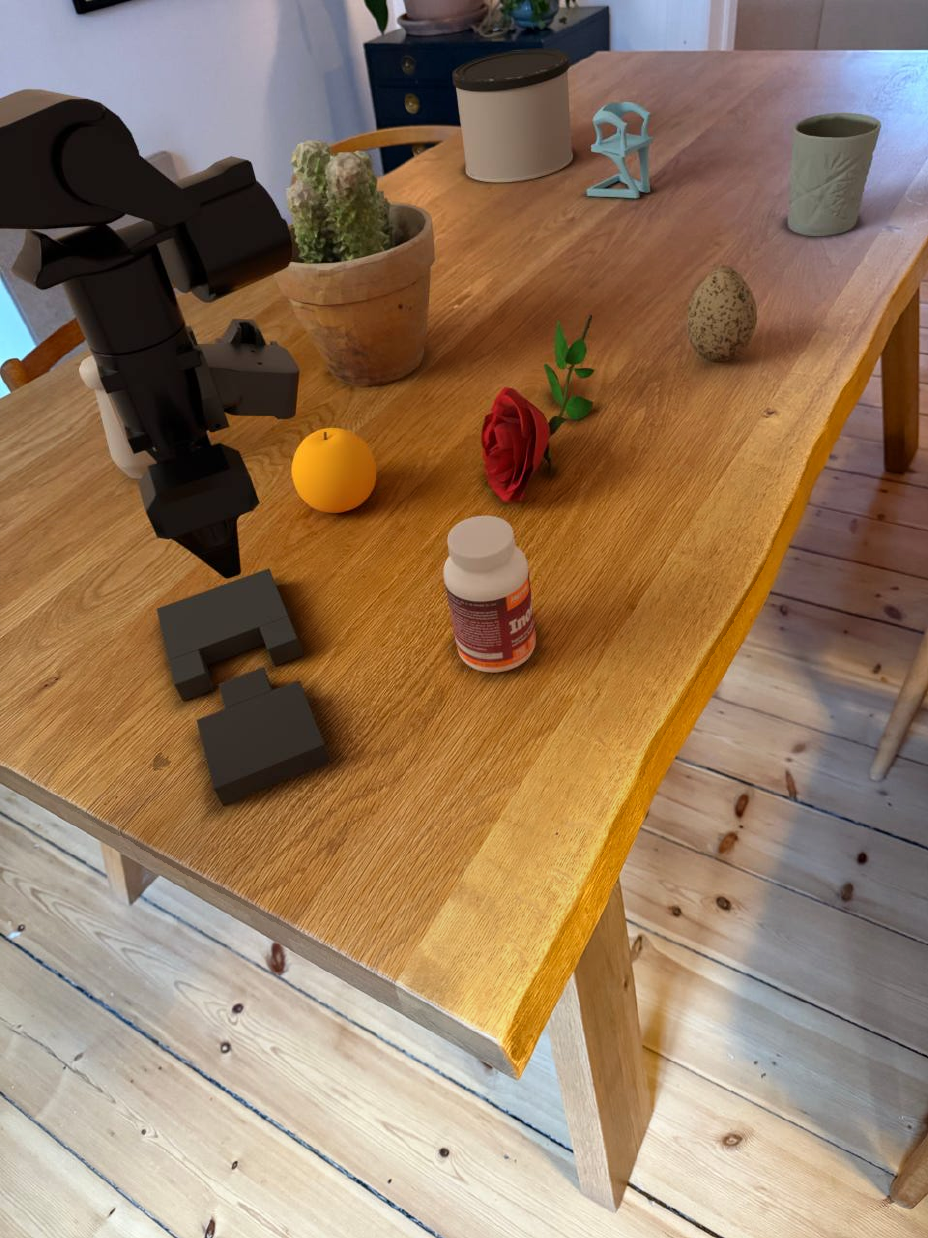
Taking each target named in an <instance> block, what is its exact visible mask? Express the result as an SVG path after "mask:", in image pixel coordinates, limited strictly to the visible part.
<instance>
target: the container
mask: <svg viewBox="0 0 928 1238" xmlns="http://www.w3.org/2000/svg"><path fill="white" fill-rule="evenodd" d="M569 69H570V56H569V54H568V53H567V52H565V51H562V50H558V49H550V48H529V49H528V48H525V49H524V48H523V49H517V50H509V51H503V52H498V53H493V54H489V55H486V56H482V57H479V58H476V59H473V60H470V61H467V62H466V63H463V64H462V65H460V66H458V67H456V68H455V69H454V70H453V71H452V74H451V75H452V84H453V86H454V87H455V90H456V98H457V105H458V113H459V114H458V115H459V122H460V128H461V129H460V131H461V138H462V144H463V145H462V146H463V153H464V160H465V173H466V175H467V176H468V177H469V178H471V179H473V180H476V181H480V182H486V183H515V182H523V181H528V180H529V181H530V180H534V179H537V178H542V177H545V176H547V175H550V174H553V173H556V172H558V171H560V170H562V169H564V168H565V167H566V166H569V164H570V163H571V162H572V160H573V158H574V153H573V150H572V135H571V134H572V132H571V131H572V130H571V112H570V95H569V94H570V93H569V92H570V91H569V74H568V73H569V72H568V70H569Z"/></svg>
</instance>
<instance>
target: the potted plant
mask: <svg viewBox="0 0 928 1238" xmlns="http://www.w3.org/2000/svg"><path fill="white" fill-rule="evenodd" d="M290 157H291V160H290V165H291V166H294V168H293V174H294V175H295V178H296V180H295V182H294V183H293V184H291V186H290V187H285V188H286V199H287V202H288V204H287V206H286V209H287V210H288V211H289V213H290V216H291V217H292V222H291V223H288V227H289V231H290V235H291V241H292V259H291V262H290V264H289V266H288V267H287V268H285V269H284V270H282V271H280V272H277V273H275V274H273V276H274V277H275V281H276V284H277V287H278V288H279V291H280V292H281V293H282V294H283V295H284V296H285V297H286V298H287V299H288V300H289V303H290V304H291V306H292V309H293V311H294V314H295V315H296V318H297V319H298V321H299V323H300V324H301V326H302V327H303V330H304V331H305V332H306V334H307V336H308V337H309V339H310V341H311V343H312V344H313V345H314V348H316V350H317V351H318V353H319V355H320V356H321V358H322V359H323V361H324V363H325V364H326V366H327V369H328V371H329V372H330V374H331V375H332V376H333V377H334V379H335V380H337V381H338V382H341V383H342V384H344V385H345V384H346V385H349V386H352V387H353V386H354V387H359V388H367V387H368V388H369V387H376V386H382V385H385V384H390V383H394V382H396V381H398V380H400V379H403V378H405V377H407V376H408V375H410V374H411V373H413V371H414V370H416V369H417V368H418V367H419V366H420V364H421V362H422V360H423V357H424V355H425V348H426V347H425V346H426V340H427V332H428V320H429V308H430V307H429V306H430V293H431V292H430V290H431V272H432V271H431V270H432V269H431V268H432V266H433V264H434V263H435V261H436V255H435V235H434V226H433V218H432V215H431V213H430V212H428V210H426V209H424V208H422V207H420V206H417V205H415V204H412V203H411V204H410V203H405V202H395V201H394V202H392V201H388V198H387V197H385V195H384V194H385V192H384V190H382V191H381V190H378V188H377V187H378V186H377V185H378V178H377V175H376V173H375V172H374V170H373V166H374V163H373V162H372V155H370V154H369V153H368V152H367V151H363V150H356V151H354V152H353V151H348V150H347V151H345V152H344V151H343V152H341V151H339V152H338V153H333V152H332V149H331V148H330V146H329V145H328V143H327V142H326V141H325V142H324V141H322V140H320V139H319V140H311V139H308V140H305V141H302V142H299V143H298V144H297V146H296V147H294V150H293V151H292V152H291V153H290Z"/></svg>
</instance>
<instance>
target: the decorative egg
mask: <svg viewBox="0 0 928 1238" xmlns="http://www.w3.org/2000/svg"><path fill="white" fill-rule="evenodd" d="M688 304H689V305H688V308H687V312H686V318H685V321H686V322H685V325H686V335H687V338H688V341H689V343H690V345H691V346H692V348H693V350H694V351H695V352H696V353H697V354H698V355H700V356H701V357H702V358H704V359H706V360H708V361H714V362H725V361H728V360H731V359H734V358H735V357H737V356H738V355H740V354H741V353H743V351H744V350H745V349H746V348H747V347H748V346H749V344H750V342H751V341H752V339H753V337H754V334H755V331H756V327H757V323H758V322H757V321H758V310H757V304H756V301H755V297H754V294H753V291H752V290H751V288H750V285H749V283H748V282H747V281H746V280H745V279H744V277H743V276H742V275H741V274H740V273H739V272H738V271H737V270H735V269H734V268H733V267H731V266H726V265H723V266H722V265H721V266H719V267H717V268H716V269H714V270H713V271H712V272H711V273H709V274H708V275H707V276H706V277H705V278H704V279H703V280H702V281H701V282H700V284H699V285H698V287H697V288H696V290H695V292H694V293H693V296H692V297H691V299H690V302H689V303H688Z"/></svg>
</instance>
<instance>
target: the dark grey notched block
mask: <svg viewBox="0 0 928 1238" xmlns="http://www.w3.org/2000/svg"><path fill="white" fill-rule="evenodd" d="M156 612H157V613H156V614H157V617H158V621H159V625H160V630H161V634H162V639H163V644H164V648H165V652H166V656H167V660H168V664H169V669H170V674H171V677H172V682H173V686H174V687H175V690H176V691H177V693H178V695H179V697H180V699H181V701H182V702H186V701H188V700H191V699H193V698H196V697H199V696H201V695H202V696H203V695H204V694H207V693H210V692H211V691H212V692H213V691H214V685H213V682H212V679H211V674H210V671H209V668H208V666H210V665H213V664H216V663H218V662H221V661H224V660H226V659H229V658H232V657H234V656H237V655H240V654H242V653H245V652H248V651H250V650H253V649H256V648H258V647H261V646H264V645H265V647H266V650H267V652H268V655H269V657H270V660H271V662H272V665H273V667H277V666H279V665H282V664H286V663H288V662H290V661H293V660H296V659H298V658H301V657H303V656H304V655H305V654H304V651H303V648H302V647H301V643H300V641H299V638H298V636H297V634H296V631H295V628H294V625H293V623H292V621H291V618H290V616H289V614H288V611H287V608H286V606H285V603H284V601H283V599H282V596H281V594H280V591H279V589H278V586H277V584H276V581H275V578H274V577H273V574H272V571H271V569H270V568H266V569H263V570H260V571H257V572H255V573H252V574H249V575H246V576H244V577H240V578H238V579H235V580H232V581H229V582H226V583H223V584H222V585H218V586H215V587H213V588H210V589H208V590H205V591H202V592H198V593H196V594H194V595H190V596H188V597H185V598H183V599H179V600H176V601H174V602H171V603H168V604H165V605H163V606H160V607H157V608H156Z"/></svg>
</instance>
